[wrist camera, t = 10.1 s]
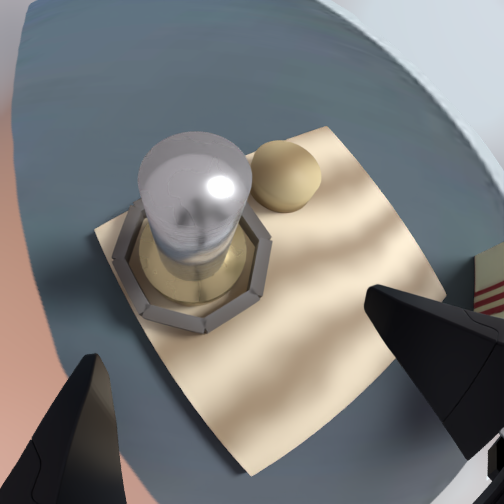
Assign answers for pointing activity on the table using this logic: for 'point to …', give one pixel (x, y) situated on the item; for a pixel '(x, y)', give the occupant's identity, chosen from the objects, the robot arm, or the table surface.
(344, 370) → the board
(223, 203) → the silver round piece
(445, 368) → the robot arm
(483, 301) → the gift box
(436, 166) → the table surface
